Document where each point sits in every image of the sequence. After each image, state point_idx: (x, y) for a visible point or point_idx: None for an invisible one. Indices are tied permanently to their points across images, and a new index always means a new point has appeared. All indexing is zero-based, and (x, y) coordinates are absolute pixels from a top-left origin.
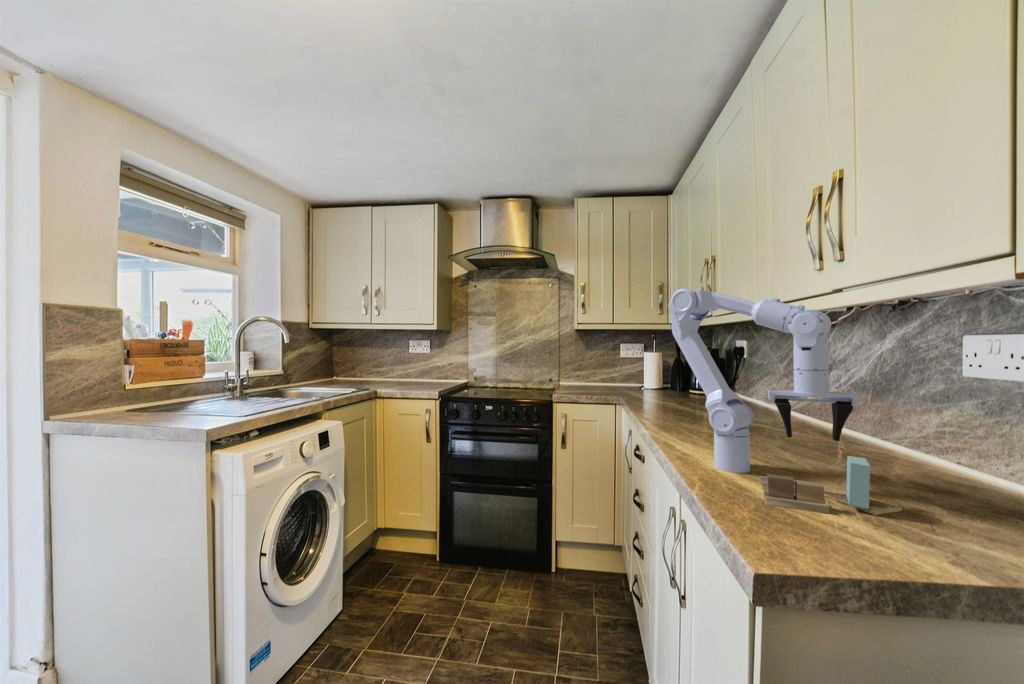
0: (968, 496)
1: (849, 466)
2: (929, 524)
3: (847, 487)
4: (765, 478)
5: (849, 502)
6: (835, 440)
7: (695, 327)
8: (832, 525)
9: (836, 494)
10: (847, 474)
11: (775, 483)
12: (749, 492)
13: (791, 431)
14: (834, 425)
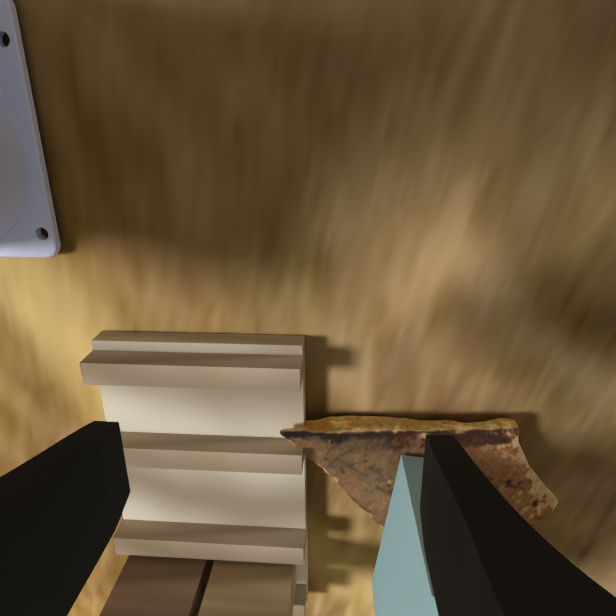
0: None
1: None
2: (602, 514)
3: (395, 532)
4: (106, 382)
5: (373, 586)
6: (421, 511)
7: None
8: (308, 610)
9: (366, 455)
10: (406, 558)
11: None
12: (77, 428)
13: (107, 539)
14: (451, 567)
